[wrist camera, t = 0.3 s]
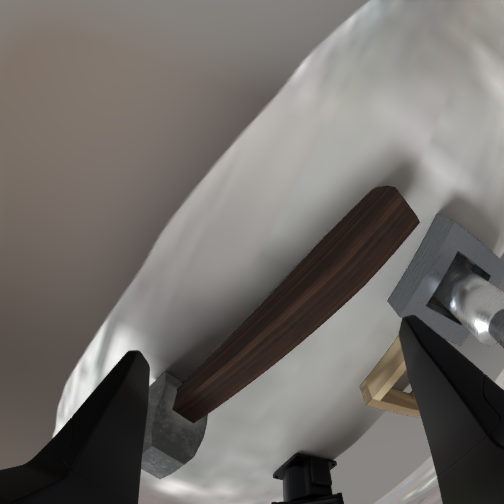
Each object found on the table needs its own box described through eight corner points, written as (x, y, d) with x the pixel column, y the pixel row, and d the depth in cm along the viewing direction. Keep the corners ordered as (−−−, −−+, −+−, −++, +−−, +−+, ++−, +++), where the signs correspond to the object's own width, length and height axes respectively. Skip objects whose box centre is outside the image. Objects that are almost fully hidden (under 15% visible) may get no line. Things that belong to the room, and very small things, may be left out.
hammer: (351, 177, 27) (142, 387, 30) (420, 174, 16) (113, 461, 19) (384, 215, 28) (176, 412, 31) (458, 233, 16) (161, 489, 20)
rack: (409, 401, 30) (418, 417, 27) (359, 386, 29) (366, 405, 26) (452, 348, 28) (464, 363, 25) (404, 326, 27) (416, 343, 24)
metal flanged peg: (446, 302, 26) (521, 379, 14) (420, 288, 26) (499, 369, 13) (466, 268, 25) (553, 332, 12) (441, 250, 24) (535, 314, 12)
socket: (447, 331, 27) (460, 345, 24) (387, 301, 26) (399, 316, 23) (491, 256, 24) (508, 266, 22) (436, 214, 24) (454, 221, 21)
